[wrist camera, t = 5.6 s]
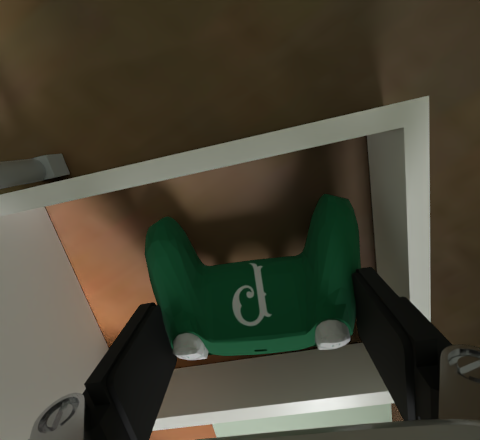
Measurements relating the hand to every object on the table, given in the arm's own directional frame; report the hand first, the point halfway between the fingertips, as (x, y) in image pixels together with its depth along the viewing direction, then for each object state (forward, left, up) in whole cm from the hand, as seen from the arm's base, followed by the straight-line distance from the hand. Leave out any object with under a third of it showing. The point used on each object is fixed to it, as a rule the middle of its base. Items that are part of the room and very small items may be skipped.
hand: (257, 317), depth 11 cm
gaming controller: (0, -1, -3) cm, 3 cm away
